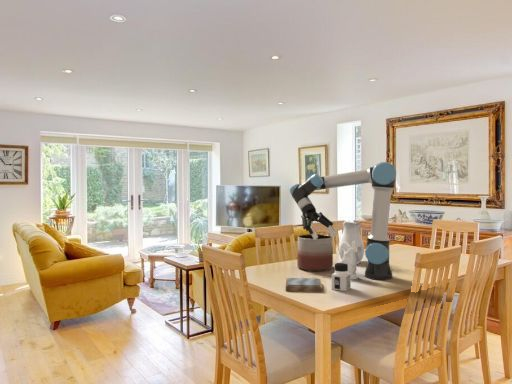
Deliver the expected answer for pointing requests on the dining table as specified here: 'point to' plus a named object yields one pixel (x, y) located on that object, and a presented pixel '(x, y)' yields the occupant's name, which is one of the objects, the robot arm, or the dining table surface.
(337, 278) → the container
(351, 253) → the cherub figurine
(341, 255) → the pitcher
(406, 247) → the dining table surface
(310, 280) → the wooden framed tray
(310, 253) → the planter
